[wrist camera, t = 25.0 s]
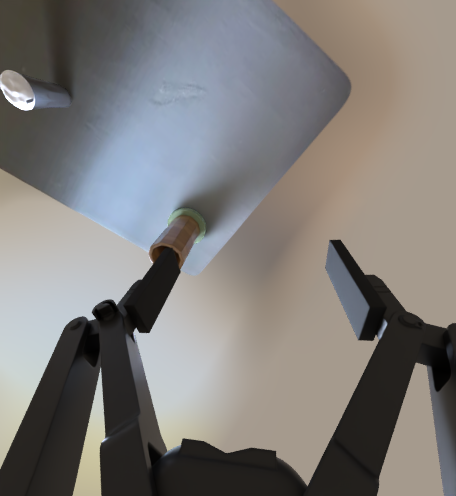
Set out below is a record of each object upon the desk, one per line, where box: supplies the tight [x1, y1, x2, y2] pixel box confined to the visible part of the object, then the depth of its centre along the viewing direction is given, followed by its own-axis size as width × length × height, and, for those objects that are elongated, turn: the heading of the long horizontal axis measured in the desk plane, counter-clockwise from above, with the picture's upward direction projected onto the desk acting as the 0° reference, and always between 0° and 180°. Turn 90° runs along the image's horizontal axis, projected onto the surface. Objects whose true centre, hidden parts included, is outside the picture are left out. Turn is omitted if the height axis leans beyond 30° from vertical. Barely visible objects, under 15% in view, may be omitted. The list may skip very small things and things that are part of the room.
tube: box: [148, 215, 200, 269], centre depth 41 cm, size 6×7×12 cm
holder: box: [168, 208, 206, 251], centre depth 43 cm, size 9×9×9 cm
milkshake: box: [0, 70, 72, 110], centre depth 32 cm, size 4×5×10 cm
